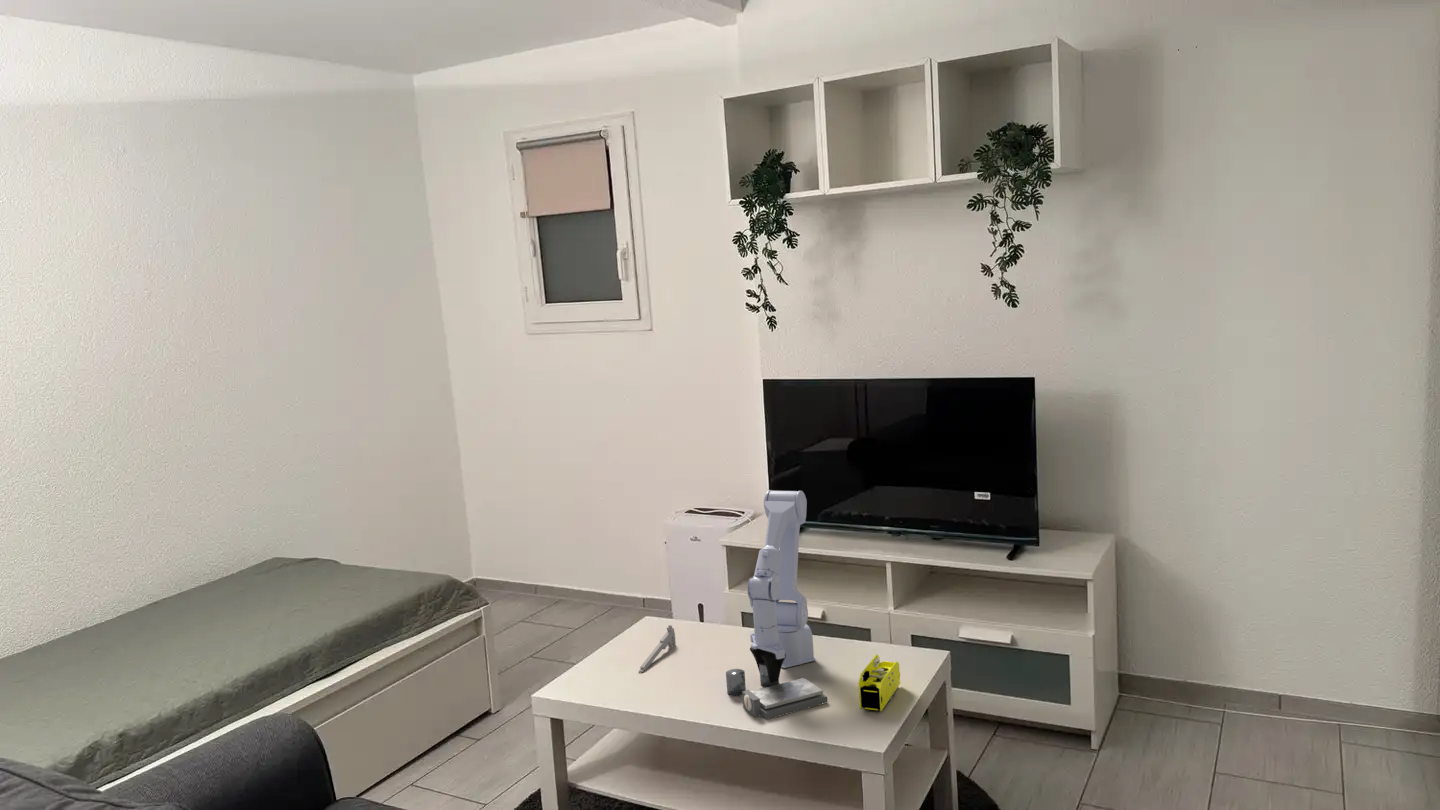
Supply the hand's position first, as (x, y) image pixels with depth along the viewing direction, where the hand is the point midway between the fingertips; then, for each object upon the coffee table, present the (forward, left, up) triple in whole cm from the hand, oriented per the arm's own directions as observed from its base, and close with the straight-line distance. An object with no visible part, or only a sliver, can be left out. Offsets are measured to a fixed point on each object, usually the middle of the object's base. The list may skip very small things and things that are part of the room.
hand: (769, 678), depth 255 cm
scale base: (+2, +12, -1) cm, 12 cm away
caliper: (+17, -32, -2) cm, 36 cm away
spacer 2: (0, 0, -1) cm, 1 cm away
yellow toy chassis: (-17, +22, -2) cm, 28 cm away
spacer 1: (+9, 0, -2) cm, 9 cm away
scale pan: (+2, +12, +1) cm, 12 cm away
